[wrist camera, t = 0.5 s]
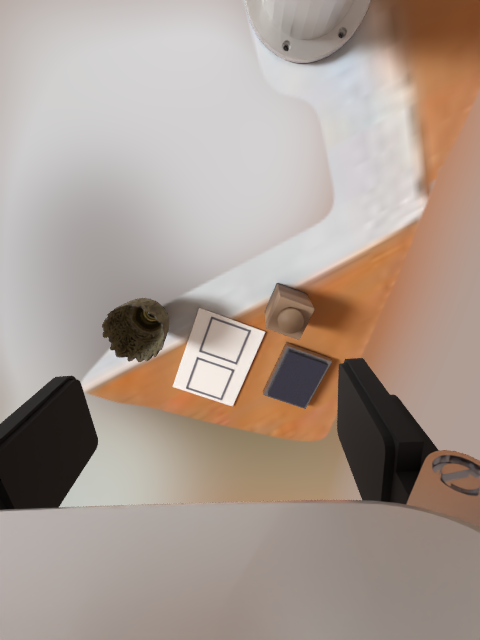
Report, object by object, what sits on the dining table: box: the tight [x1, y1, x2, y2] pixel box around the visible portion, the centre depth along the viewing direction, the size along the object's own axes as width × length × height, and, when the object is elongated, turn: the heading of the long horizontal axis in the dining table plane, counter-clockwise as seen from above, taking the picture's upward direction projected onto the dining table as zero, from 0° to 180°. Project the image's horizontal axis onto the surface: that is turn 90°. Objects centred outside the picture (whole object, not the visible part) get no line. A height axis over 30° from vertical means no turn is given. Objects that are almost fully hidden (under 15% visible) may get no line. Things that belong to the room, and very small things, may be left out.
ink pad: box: [263, 342, 332, 409], centre depth 45 cm, size 9×7×2 cm
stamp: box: [265, 283, 315, 340], centre depth 39 cm, size 4×4×7 cm
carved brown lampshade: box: [102, 298, 169, 362], centre depth 40 cm, size 8×7×8 cm
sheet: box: [173, 308, 265, 406], centre depth 46 cm, size 14×10×1 cm
